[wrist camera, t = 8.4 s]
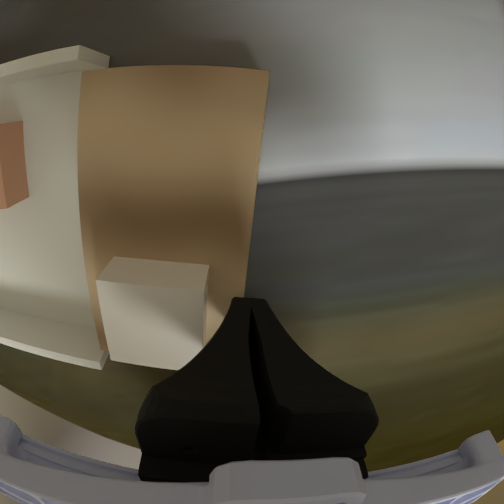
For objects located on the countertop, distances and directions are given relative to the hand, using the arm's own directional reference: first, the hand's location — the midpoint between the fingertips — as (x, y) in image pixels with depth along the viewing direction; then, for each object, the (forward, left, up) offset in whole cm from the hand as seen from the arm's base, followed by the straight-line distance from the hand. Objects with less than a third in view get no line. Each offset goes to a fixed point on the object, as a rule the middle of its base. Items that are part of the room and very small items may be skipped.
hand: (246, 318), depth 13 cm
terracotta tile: (+6, +14, -1) cm, 15 cm away
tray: (+3, +13, -3) cm, 14 cm away
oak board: (+3, +4, -3) cm, 6 cm away
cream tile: (0, +4, -1) cm, 4 cm away
